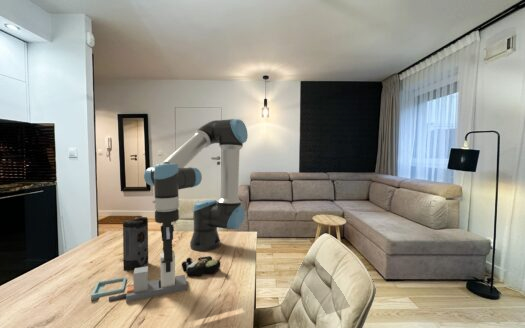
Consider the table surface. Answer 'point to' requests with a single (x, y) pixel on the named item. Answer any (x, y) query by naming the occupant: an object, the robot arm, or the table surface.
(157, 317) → the table surface
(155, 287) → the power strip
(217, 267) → the toy
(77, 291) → the table surface
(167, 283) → the charger
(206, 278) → the table surface
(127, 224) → the electronic device
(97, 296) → the tray
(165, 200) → the robot arm
